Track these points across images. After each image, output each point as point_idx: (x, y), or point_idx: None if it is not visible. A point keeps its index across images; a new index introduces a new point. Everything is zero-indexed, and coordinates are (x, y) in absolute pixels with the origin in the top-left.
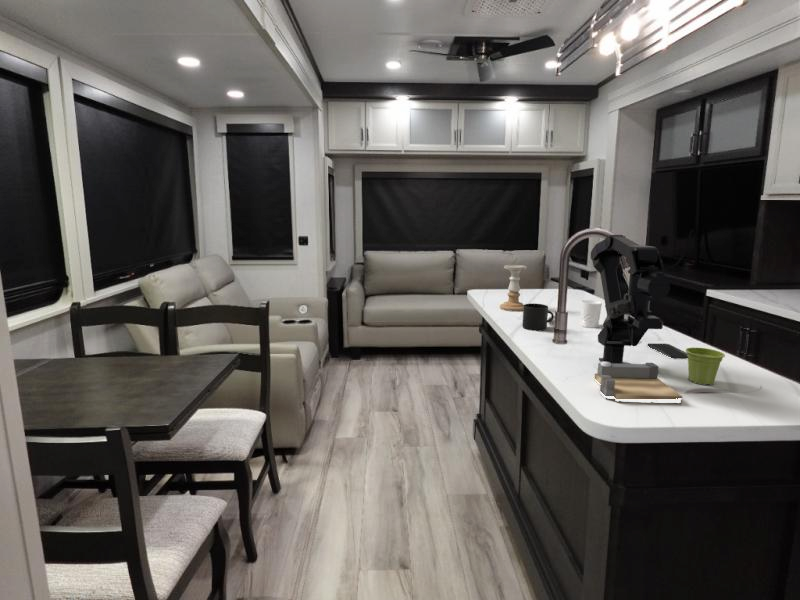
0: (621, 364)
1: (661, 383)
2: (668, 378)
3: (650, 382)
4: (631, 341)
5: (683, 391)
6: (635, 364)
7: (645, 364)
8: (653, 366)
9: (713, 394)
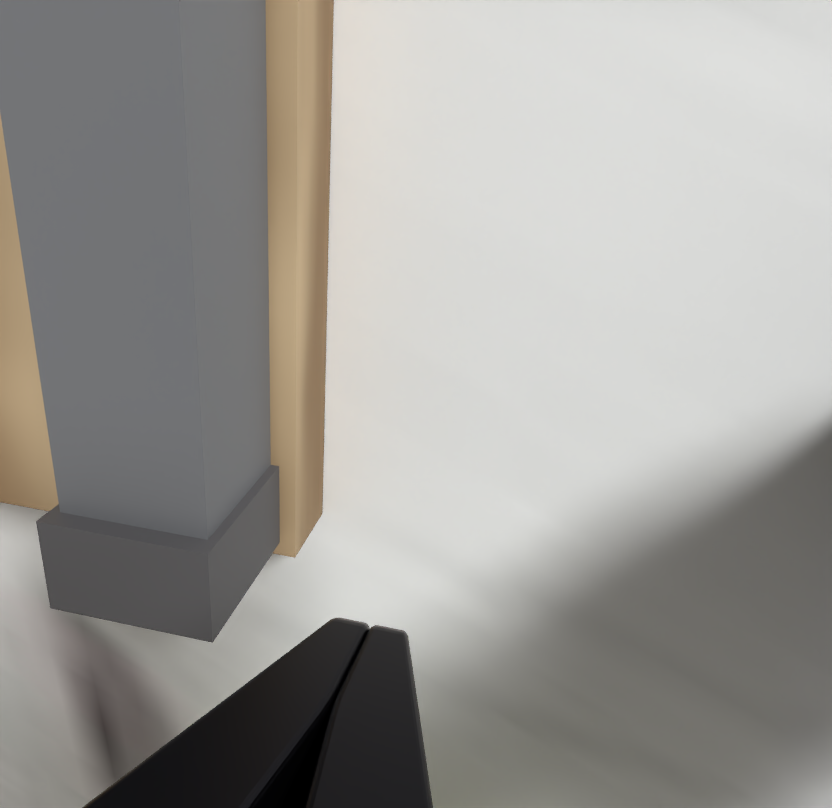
0: (139, 131)
1: (25, 476)
2: (419, 706)
3: (33, 382)
4: (344, 687)
5: None
6: (171, 382)
7: (192, 527)
8: (43, 550)
9: (73, 761)
